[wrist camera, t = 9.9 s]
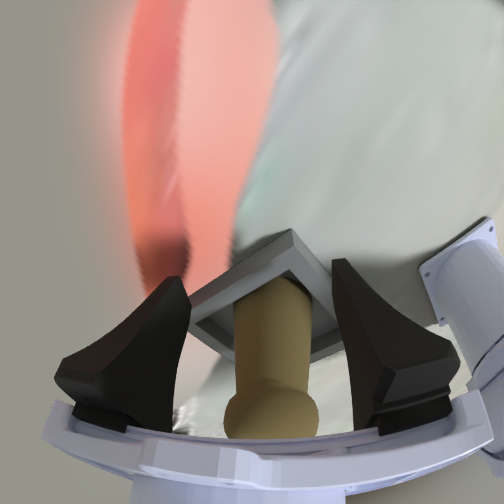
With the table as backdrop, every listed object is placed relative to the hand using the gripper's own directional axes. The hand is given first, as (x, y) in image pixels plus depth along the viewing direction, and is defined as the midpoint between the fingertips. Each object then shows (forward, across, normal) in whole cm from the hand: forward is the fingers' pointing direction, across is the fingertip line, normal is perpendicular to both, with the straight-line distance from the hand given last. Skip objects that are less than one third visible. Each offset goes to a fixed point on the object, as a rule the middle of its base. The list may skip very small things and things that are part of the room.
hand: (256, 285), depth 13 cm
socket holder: (+6, 0, +8) cm, 10 cm away
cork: (+5, 0, +7) cm, 9 cm away
